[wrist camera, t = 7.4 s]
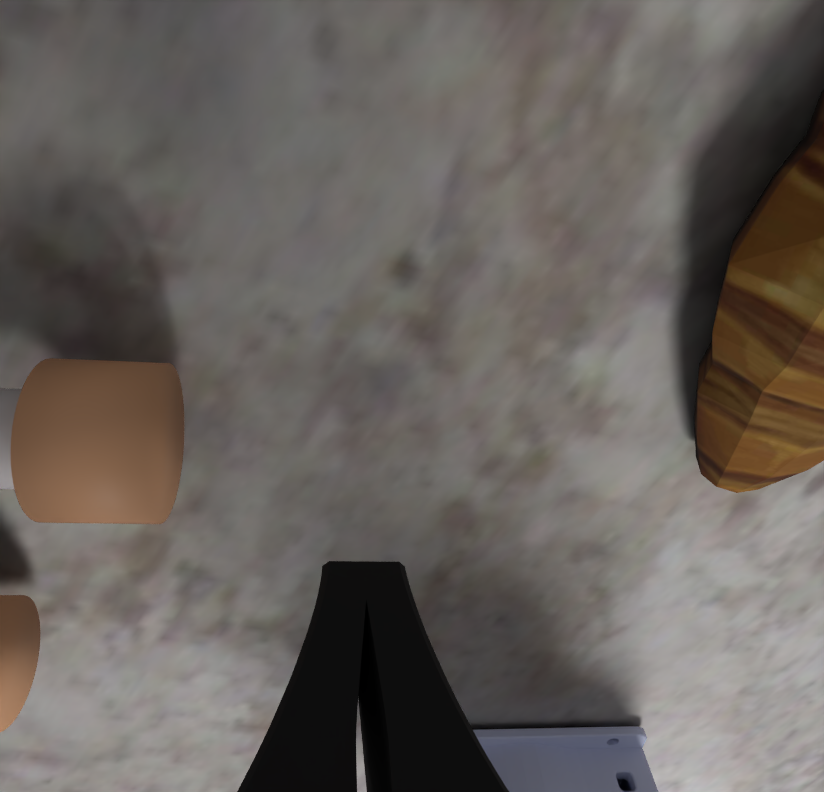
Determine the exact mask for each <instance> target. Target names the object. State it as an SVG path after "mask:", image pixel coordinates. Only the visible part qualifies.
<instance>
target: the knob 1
mask: <svg viewBox="0 0 824 792" xmlns="http://www.w3.org/2000/svg"><path fill="white" fill-rule="evenodd" d="M39 647H40V621H39V615H38V611H37V608H36V606H35V604H34V602H33V601H32V599H31V598H29V597H28V596H25V595H0V732H2V731H4V730H5V729H6V728H8V727H9V726H10V725H11V724H12V723H13V721H14V720H15V719H16V717H17V716H18V714H19V713H20V711H21V709H22V707H23V705H24V703H25V701H26V699H27V696H28V694H29V691H30V688H31V685H32V682H33V679H34V675H35V671H36V667H37V662H38V656H39Z"/></svg>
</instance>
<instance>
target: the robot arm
mask: <svg viewBox="0 0 824 792" xmlns="http://www.w3.org/2000/svg"><path fill="white" fill-rule="evenodd" d="M358 698H359V709H360V720H361V731H362V743H363V753H364V764H365V775H366V786H367V792H658V790H657V787H656V784H655V782H654V779H653V776H652V773H651V771H650V768H649V765H648V762H647V760H646V757H645V754H644V751H643V749H642V747H643V745H644V743H645V742H646V739H647V736H646V734H645V731H644V729H643V728H641V727H639V726H619V727H573V728H526V729H480V730H472V728H471V726H470V724H469V722H468V720H467V718H466V717H465V715H464V713H463V711H462V709H461V707H460V705H459V703H458V701H457V699H456V697H455V695H454V693H453V691H452V689H451V687H450V685H449V683H448V681H447V679H446V677H445V674H444V672H443V670H442V668H441V666H440V663H439V661H438V659H437V657H436V655H435V652H434V650H433V648H432V646H431V643H430V641H429V638H428V636H427V634H426V631H425V628H424V626H423V623H422V621H421V618H420V615H419V613H418V610H417V607H416V604H415V601H414V599H413V595H412V592H411V589H410V586H409V582H408V579H407V575H406V571H405V567H404V566H403V565H402V564H401V563H400V562H351V561H329V562H328V563H326V564H325V565H323V566H322V576H321V583H320V588H319V593H318V597H317V601H316V605H315V609H314V612H313V616H312V619H311V622H310V625H309V629H308V632H307V635H306V638H305V641H304V643H303V646H302V649H301V652H300V654H299V657H298V660H297V663H296V665H295V668H294V671H293V673H292V676H291V678H290V681H289V683H288V686H287V688H286V690H285V693H284V695H283V697H282V700H281V702H280V704H279V707H278V709H277V711H276V713H275V716H274V718H273V720H272V723H271V725H270V727H269V729H268V731H267V734H266V736H265V738H264V740H263V742H262V744H261V746H260V748H259V750H258V752H257V754H256V756H255V758H254V760H253V762H252V764H251V766H250V768H249V770H248V772H247V774H246V776H245V778H244V780H243V782H242V784H241V786H240V788H239V790H238V791H237V792H357V773H356V722H357V705H358Z"/></svg>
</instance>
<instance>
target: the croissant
mask: <svg viewBox="0 0 824 792" xmlns="http://www.w3.org/2000/svg"><path fill="white" fill-rule="evenodd" d="M694 422H695V444H696V458H697V461H698V465H699V468H700V472H701V474H702V475H703V476H704V477H706V478H707V479H708V480H709V481H710V482H712V483H713V484H714V485H715V486H716V487H720V488H723V489H726V490H729V491H732V492H736V493H739V492H745V491H751V490H757V489H760V488H763V487H765V486H768V485H770V484H773V483H776V482H778V481H781V480H783V479H786V478H788V477H791V476H793V475H796V474H798V473H801V472H804V471H806V470H808V469H810V468H812V467H813V466H815V465H817V464H818V463H820V462H822V461H823V460H824V90H823V92H822V93H821V96H820V98H819V101H818V104H817V106H816V109H815V112H814V115H813V117H812V120H811V123H810V126H809V128H808V131H807V134H806V136H805V137H804V138H803V140H802V141H801V142H800V143H799V145H798V146H797V147H796V149H795V150H794V151H793V152H792V154H791V155H790V156H789V157H788V159H787V160H786V161H785V162H784V164H783V165H782V166H781V168H780V169H779V170H778V171H777V173H776V174H775V175H774V176H773V178H772V180H771V181H770V183H769V184H768V186H767V188H766V189H765V191H764V192H763V194H762V196H761V197H760V199H759V200H758V202H757V203H756V205H755V207H754V208H753V210H752V211H751V213H750V215H749V216H748V218H747V219H746V221H745V223H744V224H743V226H742V227H741V229H740V230H739V232H738V234H737V235H736V237H735V238H734V240H733V244H732V248H731V252H730V256H729V260H728V264H727V268H726V272H725V276H724V280H723V284H722V288H721V292H720V296H719V300H718V304H717V310H716V315H715V321H714V326H713V332H712V342H711V344H710V346H709V348H708V349H707V351H706V353H705V355H704V357H703V358H702V360H701V362H700V365H699V374H698V384H697V394H696V404H695V413H694Z"/></svg>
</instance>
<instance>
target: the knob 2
mask: <svg viewBox="0 0 824 792" xmlns="http://www.w3.org/2000/svg"><path fill="white" fill-rule="evenodd" d="M183 450H184V404H183V395H182V388H181V383H180V379H179V376H178V373H177V371H176V369H175V367H174V366H173V365H172V364H170V363H153V362H128V361H103V360H79V359H54V358H50V359H45V360H43V361H41V362H40V363H39V364H37V365H36V366H35V368H34V369H33V370H32V371H31V373H30V374H29V376H28V377H27V379H26V381H25V383H24V385H23V388H22V389H5V388H0V489H15V493H16V496H17V499H18V502H19V504H20V506H21V508H22V510H23V511H24V513H25V514H26V515H27V516H28V517H29V518H30V519H31V520H33V521H35V522H46V523H119V524H162V523H163V522H165V521H166V519H167V518H168V516H169V515H170V512H171V510H172V508H173V505H174V502H175V499H176V495H177V491H178V486H179V481H180V476H181V469H182V461H183Z"/></svg>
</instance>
